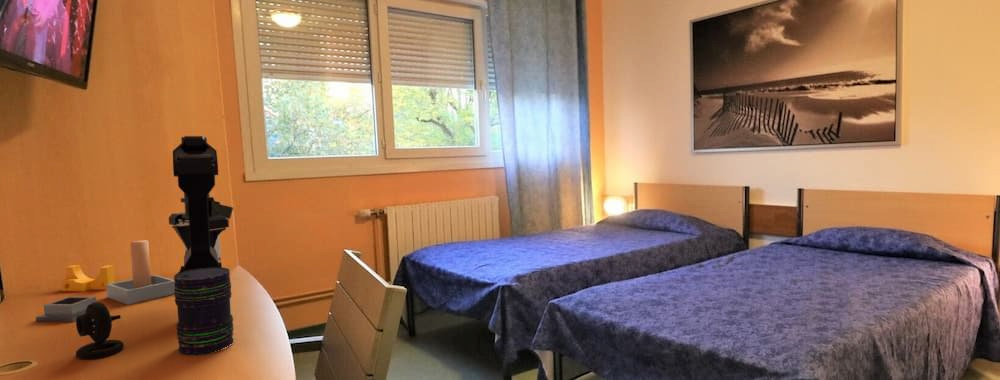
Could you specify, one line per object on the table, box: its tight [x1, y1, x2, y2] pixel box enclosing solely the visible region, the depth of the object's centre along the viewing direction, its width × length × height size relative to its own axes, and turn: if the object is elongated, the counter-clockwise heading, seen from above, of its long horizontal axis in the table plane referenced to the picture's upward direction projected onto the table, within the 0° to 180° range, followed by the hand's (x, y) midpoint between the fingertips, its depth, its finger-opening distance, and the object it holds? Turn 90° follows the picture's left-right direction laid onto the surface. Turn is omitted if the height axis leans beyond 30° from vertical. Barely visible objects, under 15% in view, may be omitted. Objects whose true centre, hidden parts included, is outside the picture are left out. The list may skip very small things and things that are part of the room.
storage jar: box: [173, 267, 235, 357], centre depth 105 cm, size 10×10×15 cm
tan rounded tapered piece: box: [129, 239, 152, 289], centre depth 142 cm, size 4×4×14 cm
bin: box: [106, 274, 175, 305], centre depth 142 cm, size 12×12×4 cm
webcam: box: [75, 301, 125, 360], centre depth 103 cm, size 8×8×10 cm
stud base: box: [35, 296, 97, 323], centre depth 126 cm, size 9×9×4 cm
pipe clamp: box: [60, 264, 116, 292], centre depth 149 cm, size 12×4×6 cm, turn 87°
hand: (200, 253), depth 138 cm, fingers open, 9 cm apart
